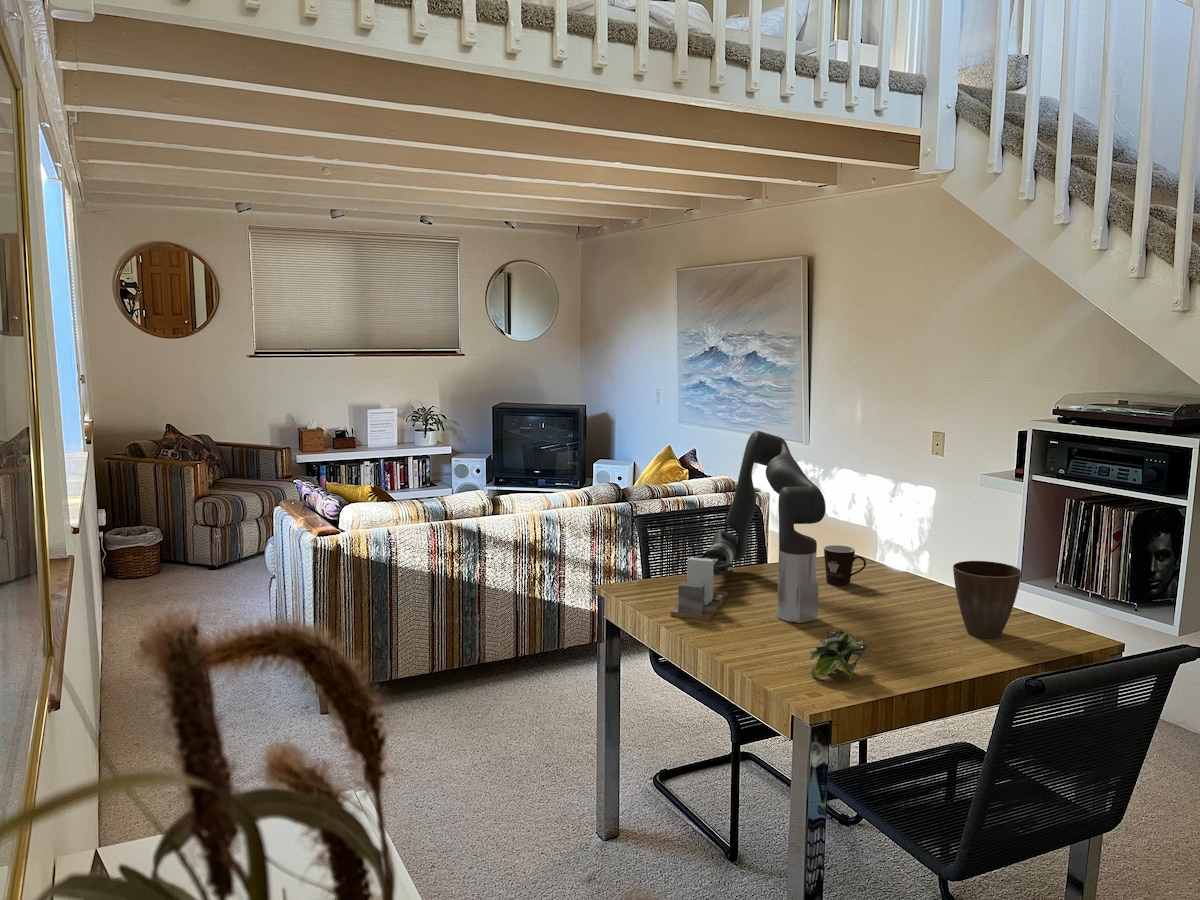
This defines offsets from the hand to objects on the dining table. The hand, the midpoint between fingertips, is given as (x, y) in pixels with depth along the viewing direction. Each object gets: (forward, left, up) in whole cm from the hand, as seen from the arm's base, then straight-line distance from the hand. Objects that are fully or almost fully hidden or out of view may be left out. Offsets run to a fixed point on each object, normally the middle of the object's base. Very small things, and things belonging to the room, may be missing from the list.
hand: (703, 574), depth 242 cm
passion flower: (-57, +7, -8) cm, 58 cm away
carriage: (-5, +4, -6) cm, 9 cm away
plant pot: (-55, -42, -8) cm, 69 cm away
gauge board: (-3, +3, -7) cm, 8 cm away
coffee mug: (-7, -44, -8) cm, 45 cm away
